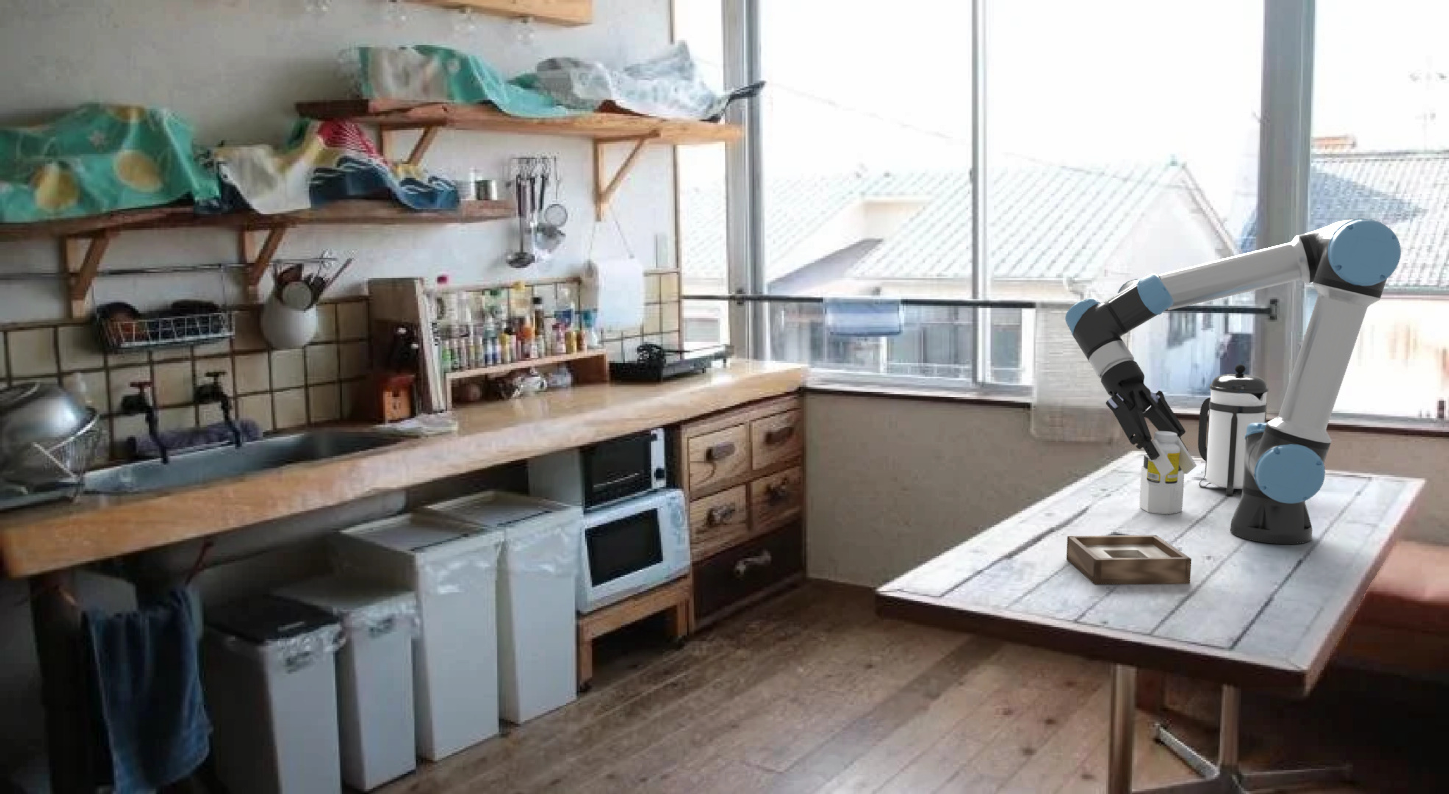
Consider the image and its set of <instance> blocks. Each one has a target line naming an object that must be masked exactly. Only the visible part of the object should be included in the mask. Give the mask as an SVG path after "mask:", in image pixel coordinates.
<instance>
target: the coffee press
mask: <svg viewBox="0 0 1449 794" xmlns="http://www.w3.org/2000/svg"><path fill="white" fill-rule="evenodd" d="M1234 370H1235V373H1229V374H1228V373H1227V374H1221V375H1218V376H1216V377H1214V379H1212V381H1211V384H1209V390H1210V397H1207V398H1206V399H1204V401H1202V403H1201V406H1200V409H1199V418H1198V419H1199V421H1198V435H1197V447H1198V453H1199V455H1200V457H1201V459H1202V460H1204V461H1205V469H1204V476H1203V478H1202V479H1201V480H1199V482H1198V483H1199V484H1198V486H1199V487H1200V488H1202V489H1203V488H1206V487H1207V486H1208V485H1213V486H1217V487H1220V488H1226V493H1225V494H1226V496H1229V497H1233V495H1234V489H1237V490H1239V489H1240V490H1242V489H1243V472H1244V457H1245V442H1246V440H1245V435H1246V430H1247V426H1248V425H1249V424H1251V423H1267V409H1268V403H1267V394H1268V393H1269V391H1270V388H1269V386H1267V382H1266V381H1265V379H1263V378H1261V377H1260V376H1257V375H1252V374H1246V373H1245V374H1244V372H1245V371H1246V366H1245V365H1244V364H1242V363H1238V364H1236V366H1235V368H1234ZM1204 479H1206V481H1207V482H1208V483H1206V484H1205V485H1201V483H1202V481H1203V480H1204Z"/></svg>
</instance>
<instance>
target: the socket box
mask: <svg viewBox="0 0 1449 794" xmlns="http://www.w3.org/2000/svg"><path fill="white" fill-rule="evenodd" d="M1066 537H1067V539H1066V557H1065V558H1066V560H1067V561H1068V562H1069V563H1070V564H1071V565H1072V566H1073V567H1074V568H1076V569H1077V570H1078V571H1079V572H1080V573H1081V574H1082V575H1083V576H1084V577H1085V578H1087V579H1088V580H1089V581H1090V582H1091V583H1092V584H1094V585H1095V586H1096V585H1163V584H1164V585H1173V584H1175V585H1176V584H1179V585H1180V584H1181V585H1182V584H1185V585H1186V584H1191V574H1192V573H1191V571H1192V558H1191V557H1190V556H1188V555H1187V554H1185V553H1184V552H1182V551H1180V550H1179V549H1177V548H1176V547H1174V546H1173V545H1171V544H1170V543H1169V542H1167V541H1165V540H1164V539H1163V538H1162V537H1159V536H1158V535H1156V534H1155V535H1154V534H1151V535H1149V534H1146V535H1145V534H1142V535H1141V534H1139V535H1135V534H1134V535H1129V534H1127V535H1067V536H1066Z"/></svg>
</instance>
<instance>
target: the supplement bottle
mask: <svg viewBox="0 0 1449 794" xmlns="http://www.w3.org/2000/svg"><path fill="white" fill-rule="evenodd" d="M1153 439H1157V441H1158V443H1159V444H1160V446H1161V448H1162V449H1163V451H1164V453H1165V454H1166V456H1167V457H1168V459H1169V461H1170V462H1171V464H1172V466H1173V467H1174V469H1173V470H1172V471H1171V472H1170V473H1169V474H1168V475H1166V476H1165V477H1162V476H1161V474H1160V473H1159V471H1158V469H1157V468H1156V466H1155V464H1154V463H1153V461H1152V460H1151V459H1150V458H1148V470H1147V483H1148V484H1150V485H1153V486H1158V487H1174V486H1176V485H1177V480H1178V469H1179V456H1180V448H1179V446H1177V445H1176V444H1175V442H1176V441H1177V433H1174V432H1168V431H1158V430H1157V431H1156V430H1155V431H1154V437H1153Z"/></svg>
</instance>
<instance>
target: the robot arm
mask: <svg viewBox="0 0 1449 794" xmlns="http://www.w3.org/2000/svg"><path fill="white" fill-rule="evenodd" d="M1401 249H1402V248H1401V244H1400V240H1399V238H1398V237H1397V235H1396V233H1395V232H1394V231H1393V230H1392V229H1391V228H1390V227H1389V226H1387V225H1386V224H1384V223H1383V222H1381V221H1378V220H1374V219H1372V218H1369V219H1368V218H1348V219H1343V220H1339V221H1336V222H1334V223H1331V224H1329V225H1325V226H1324V227H1321V228H1319V229H1316V230H1313V231H1309V232H1306V233H1302V234H1298V235H1295V236H1294V238H1293V239H1292V240H1291V241H1290V242H1287V243H1282V244H1279V245H1274V246H1271V247H1268V248H1267V247H1266V248H1262V249H1258V250H1254V251H1250V252H1246V253H1241V254H1238V255H1234V256H1230V257H1229V256H1228V257H1226V258H1221V259H1218V260H1217V259H1216V260H1213V261H1208V262H1205V263H1201V264H1197V265H1194V266H1193V265H1192V266H1189V267H1185V268H1180V269H1177V270H1173V271H1168V272H1164V273H1160V274H1156V273H1150V274H1148V275H1147V276H1144V277H1141V278H1134V279H1130V280H1128V281H1126V282H1124V283H1123V284H1122V285H1121V286H1120V287H1119V289H1118V291H1117V294H1115V295H1113V296H1112V297H1110V298H1109V299H1107V300H1106V299H1105V301H1102V302H1100V301H1099V300H1097V298H1095V297H1089V298H1085V299H1084V300H1079V301H1078V302H1076V303H1075V304H1073V305H1072V306H1071V307H1070V308H1068V310H1067V312H1066V314H1065V319H1064V320H1065V323H1066V325H1067V327H1068V329H1069V331H1070V333H1071V335H1072V337H1073V338H1074V341H1076V343H1077V345H1078V346H1079V348H1080V349H1081V351H1082V352H1083V355H1084V356H1085V357H1086V359H1087V361H1088V362H1089V364H1090V365H1091V367H1092V368H1093V371H1094V373H1095V374H1096V376H1097V378H1099V379H1100V383H1101V384H1102V386H1103V388H1104V389H1105V391H1106V393H1107V395H1108V396H1110V397H1109V399H1108V400H1106V402H1105V405H1106V406H1107V407H1108V408H1109V410H1110V411H1112V413H1113V415H1114V417H1115V418H1116V420H1117V422H1118V424H1119V425H1120V427H1121V428H1122V430H1123V433H1124V434H1125V436H1126V438H1127V439H1128V441H1129V443H1130V444H1131V445H1133V446H1134V445H1136V446H1135V448H1136V449H1138V450H1141V449H1142V448H1143V449H1144V452H1145V453H1146V454H1147V455H1148V456H1149V458H1150V459H1151V460H1152V461H1153V463H1154V464H1155V466H1156V468H1157V469H1158V471H1159V473H1160V474H1161V476H1162V477H1165V476H1166V475H1168V474H1169V473H1170V472H1171V471H1172V470H1173V469H1174V467H1173V466H1172V464H1171V462H1170V461H1169V459H1168V457H1167V456H1166V454H1165V453H1164V451H1163V449H1162V448H1161V446H1160V444H1159V443H1158V441H1157V439H1154V438H1153V439H1152V435H1151V432H1150V430H1149V426H1148V423H1147V421H1146V418H1147V419H1148V420H1149V422H1150V423H1151V424H1152V425H1153V426H1154V427H1155V428H1156V429H1157V431H1168V432H1174V433H1177V441H1176V442H1175V444H1176V445H1177V446H1179V448H1180V456H1179V466H1180V467H1181V469H1182V471H1183V472H1184V475H1187V474H1189V473H1190V472H1192V470H1194V469H1195V468H1196V467H1197V464H1196V462H1195V460H1194V459H1193V458H1192V457H1193V456H1192V455H1191V454H1190V452H1189V450H1188V448H1187V446H1186V445H1185V443H1184V441H1183V439H1182V438H1181V437H1182V436H1183V435H1185V433H1186V432H1187V431H1186V429H1185V428H1184V427H1183V424H1182V423H1181V422H1180V420H1179V419H1178V417H1177V416H1176V414H1175V413H1174V411H1173V409H1172V407H1170V405H1169V404H1168V401H1167V400H1166V398H1165V395H1164V393H1163V391H1161V390H1158V391H1157V392H1153V391H1151V390H1150V389H1149V387H1148V386H1146V384H1145V374H1144V372H1143V371H1142V369H1141V368H1140V366H1139V364H1138V362H1137V361H1135V357H1134V355H1133V354H1132V352H1131V350H1129V348H1128V346H1127V345H1126V343H1125V342H1124V339H1122V336H1124V335H1125V334H1127V333H1129V332H1130V331H1132V330H1134V329H1136V328H1137V327H1140V326H1141V325H1143V324H1145V323H1146V322H1148V321H1150V320H1151V319H1154V317H1157V316H1159V315H1160V316H1161V315H1162V313H1164V312H1166V311H1167V312H1168V311H1171V310H1175V309H1179V308H1184V307H1188V306H1193V305H1197V304H1201V303H1205V302H1210V301H1213V300H1214V301H1215V300H1219V299H1223V298H1224V299H1225V298H1227V297H1231V296H1235V295H1236V296H1237V295H1240V294H1245V293H1249V292H1255V291H1258V290H1262V289H1266V288H1271V287H1276V286H1280V285H1283V284H1284V285H1285V284H1287V283H1288V284H1289V283H1292V282H1296V281H1302V282H1303V283H1305V284H1311V283H1312V286H1313V287H1314V289H1315V291H1316V292H1317V297H1316V299H1315V300H1316V301H1315V304H1314V307H1313V310H1312V312H1311V315H1310V318H1309V322H1308V324H1307V325H1308V326H1307V327H1306V331H1305V334H1304V337H1303V340H1302V343H1301V347H1300V349H1299V352H1298V355H1297V358H1296V361H1295V363H1294V364H1295V365H1294V367H1293V369H1292V373H1291V376H1290V378H1289V381H1288V385H1287V388H1286V391H1285V394H1284V397H1283V401H1282V403H1281V406H1280V408H1279V409H1280V410H1279V411H1278V416H1276V417H1275V418H1273V419H1271V420H1269V421H1266V423H1251V424H1249V425H1248V426H1247V430H1246V435H1245V440H1246V442H1245V457H1244V472H1243V489H1241V491H1242V492H1241V497H1240V499H1239V502H1238V504H1237V507H1236V509H1235V510H1234V513H1233V515H1232V518H1231V521H1230V532H1231V534H1233V535H1234V536H1237V537H1238V538H1241V539H1244V540H1245V539H1246V540H1250V541H1253V542H1259V543H1266V544H1267V543H1268V544H1277V545H1279V544H1280V545H1297V544H1304V543H1308V542H1310V541H1312V539H1313V526H1312V522H1311V520H1310V519H1311V518H1310V514H1309V511H1308V507H1307V504H1306V501H1308V500H1310V499H1311V498H1313V497H1314V496H1316V495H1317V493H1319V491H1320V490H1321V488H1322V486H1324V485H1323V484H1324V481H1325V478H1326V477H1325V476H1326V467H1325V462H1326V459H1327V455H1328V453H1329V450H1330V447H1331V443H1332V438H1331V437H1330V435H1329V433H1328V431H1327V428H1328V425H1329V422H1330V420H1331V419H1330V418H1331V416H1332V413H1333V409H1334V407H1335V404H1336V400H1337V398H1338V395H1339V393H1340V390H1341V386H1342V383H1343V381H1344V377H1345V375H1346V372H1347V369H1348V366H1349V362H1350V360H1351V357H1352V354H1353V351H1354V348H1355V345H1356V342H1357V339H1358V336H1359V334H1360V331H1361V328H1362V324H1363V322H1364V319H1365V317H1366V314H1367V313H1366V312H1367V311H1368V308H1369V307H1370V306H1371V305H1373V304H1375V303H1376V302H1378V301H1380V300H1381V297H1382V295H1383V292H1384V288H1385V286H1386V283H1387V279H1389V278H1390V277H1391V276H1392V275H1393V273H1395V271H1396V269H1397V268H1398V265H1399V263H1400V260H1401V256H1402V255H1401V254H1402V253H1401V252H1402V250H1401Z"/></svg>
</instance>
